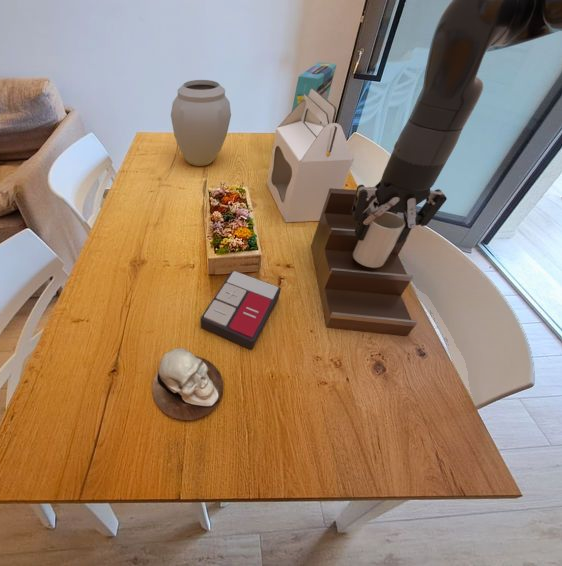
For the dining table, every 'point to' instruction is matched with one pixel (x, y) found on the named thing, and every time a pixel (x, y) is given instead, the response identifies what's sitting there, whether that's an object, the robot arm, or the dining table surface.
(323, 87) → the game box
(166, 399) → the skull
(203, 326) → the calculator
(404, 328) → the shelf rack
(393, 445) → the dining table surface
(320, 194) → the gable box
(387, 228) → the cup
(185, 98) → the vase
